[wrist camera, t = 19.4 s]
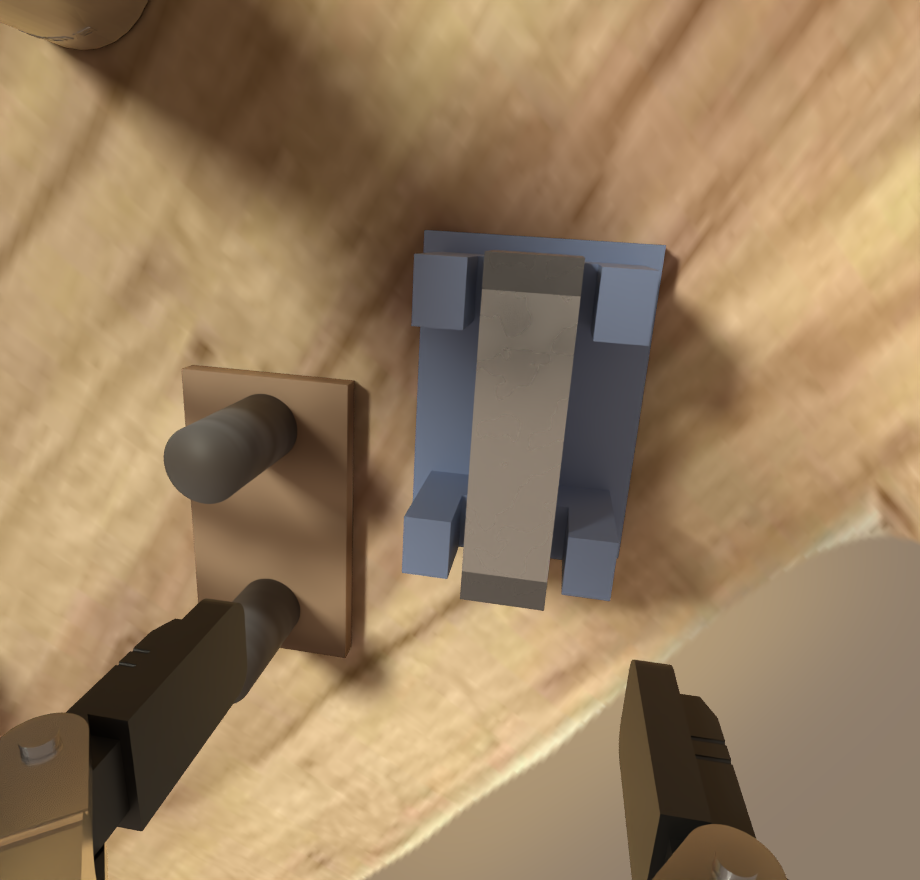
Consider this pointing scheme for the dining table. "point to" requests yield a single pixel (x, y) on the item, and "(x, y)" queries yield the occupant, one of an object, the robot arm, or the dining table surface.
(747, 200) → the dining table surface
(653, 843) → the robot arm
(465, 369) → the notched cradle
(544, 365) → the steel bar
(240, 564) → the stand
